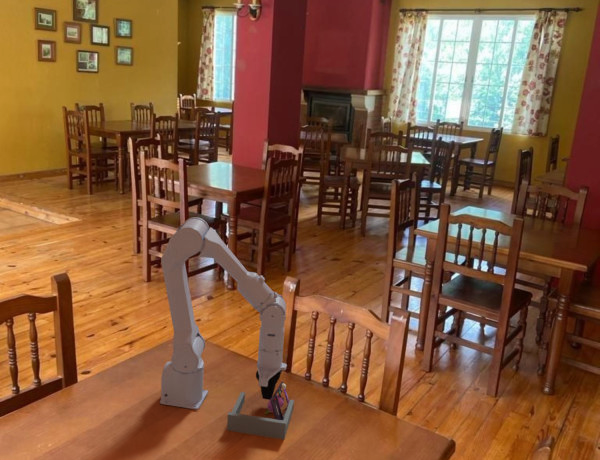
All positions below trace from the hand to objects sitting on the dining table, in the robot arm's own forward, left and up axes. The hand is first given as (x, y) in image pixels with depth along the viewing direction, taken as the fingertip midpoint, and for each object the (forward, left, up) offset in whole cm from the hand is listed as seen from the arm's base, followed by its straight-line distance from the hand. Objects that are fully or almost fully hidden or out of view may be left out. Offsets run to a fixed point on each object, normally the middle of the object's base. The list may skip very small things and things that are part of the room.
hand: (267, 397), depth 138 cm
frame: (0, -6, -2) cm, 6 cm away
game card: (+3, -3, -2) cm, 5 cm away
